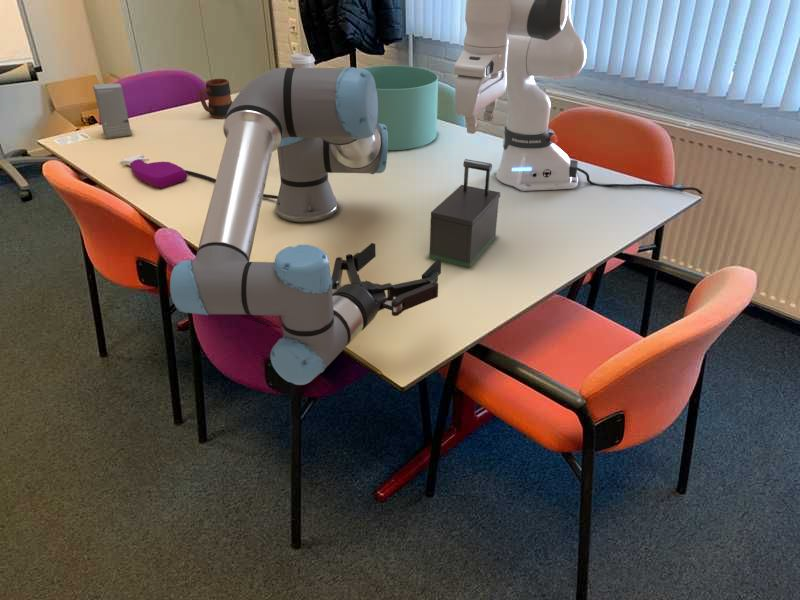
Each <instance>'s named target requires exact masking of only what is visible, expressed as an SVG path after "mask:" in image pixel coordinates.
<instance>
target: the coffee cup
mask: <svg viewBox="0 0 800 600" xmlns="http://www.w3.org/2000/svg"><path fill="white" fill-rule="evenodd" d="M315 62H316V59H315V56H314V55H313V54H312V53H309V52H297V53H292V54H291V56H290V57H289V63H290V64H291V68H315Z"/></svg>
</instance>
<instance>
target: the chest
mask: <svg viewBox="0 0 800 600" xmlns="http://www.w3.org/2000/svg"><path fill="white" fill-rule="evenodd" d="M499 200H500V198H499V199H498V200H497V201H496V202H495V203H494V204H493V205H492V206H491V207H490V208H489V209H488V210H487V211H486V212H485V213H484V214H483V215H482V216H481V217H480V219H479V220H478V221H477V222H476V223H475V224H474V225H473V226H469V225H464V224H460V223H455V222H451V221H446V220H442V219H437V218H433V217H431V216H430V224H429V225H430V227H429V228H430V229H429V230H430V231H429V256H428V258H429V259H433V260H435V261H436V260H437V259H439V260H441V262H445V263H448V264H453V265H455V266H460V267H464V268H467V269H470V268H471V267H472V265H473V264H474V263H475V262H476V261H477V260H478V259H479V258H480V257H481V255H482V254H483V253H484V252H485V250H486V249H487V248H488V247H489V246H490V245H491V244H492V242H493V241H494V240H495V239H496V235H497V225H498V224H497V222H498V213H499Z"/></svg>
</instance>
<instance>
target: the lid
mask: <svg viewBox="0 0 800 600" xmlns="http://www.w3.org/2000/svg"><path fill="white" fill-rule="evenodd" d="M463 167H464V175H463V184H461V185H460V186H458V188H456V189H455V190H454V191H453V192H452V193H451V194H450V195H448V196H447V197H446V198H445V199H444V200H443V201H442V202H441V203H439V204H438V205H437V206H436V207H435V208H434V209H433V210H431V212H430V218H431V217H433V218H437V219H442V220H446V221H451V222H455V223H460V224H464V225H469V226H473V225H474V224H475V223H476V222H477V221H478V220H479V219H480V217H481V216H482V215H483V214H484V213H485V212H486V211H487V210H488V209H489V208H490V207H491V206H492V205H493V204H494V203H495V202H496V201H497V200H498V199H499V200H500V198H501V191H496V190H491V189H490V178H491V171H492V170H493V164H492V163H489V162H484V161H478V160H474V159H468V158H465V159H464V160H463ZM469 169H472V170H478V171H484V172H485V182H484V183H485V184H484V188H481V187H475V186H470V185H468V183H469V171H470V170H469Z"/></svg>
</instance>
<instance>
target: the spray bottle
mask: <svg viewBox="0 0 800 600" xmlns="http://www.w3.org/2000/svg"><path fill="white" fill-rule="evenodd" d="M145 161H149V163H147V162H145ZM120 163H121V166H129V167H130V169H131V172H132V173H133V175H134V176H135V177H136V178H137V179H139V180H141V181H142V182H143V183H145V184H148V185H150V186H153V187H156V188H160V189H163V188H166V187H169V186H173V185H176V184H178V183H182V182H184V181H186V180H187V178H188V174H187V172H186V171H185V170H186V169H184V168H183V167H181V166H180V165H177V164H175V163H174V162H170V161H154V162H150V158H146V157H145V154H144V153H142V154H136V155H133V156H129V157H127V158H124V159H121V160H120Z"/></svg>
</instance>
